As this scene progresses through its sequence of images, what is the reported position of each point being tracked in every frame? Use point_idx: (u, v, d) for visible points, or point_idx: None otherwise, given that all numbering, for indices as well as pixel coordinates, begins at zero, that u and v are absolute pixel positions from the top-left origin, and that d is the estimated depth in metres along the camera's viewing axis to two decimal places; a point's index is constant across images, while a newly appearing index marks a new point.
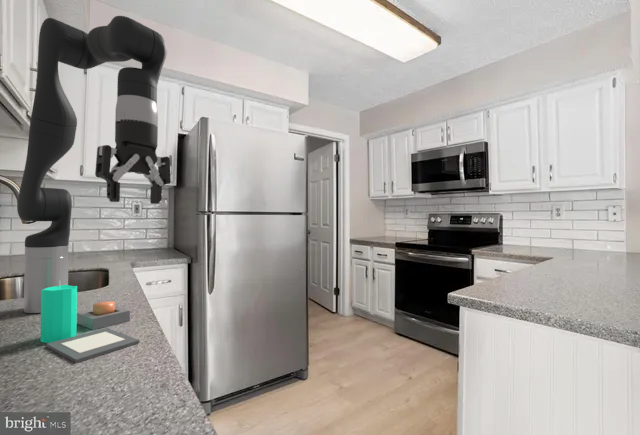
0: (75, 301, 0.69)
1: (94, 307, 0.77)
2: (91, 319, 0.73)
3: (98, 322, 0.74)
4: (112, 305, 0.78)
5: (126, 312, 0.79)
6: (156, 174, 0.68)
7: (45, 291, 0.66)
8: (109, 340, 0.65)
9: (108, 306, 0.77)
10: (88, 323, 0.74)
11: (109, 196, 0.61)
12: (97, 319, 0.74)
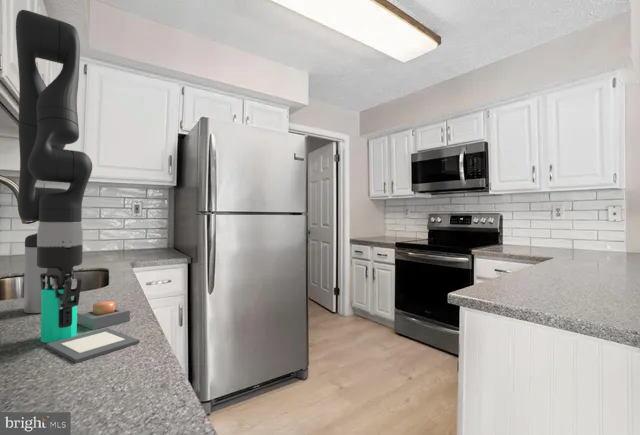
0: None
1: (94, 307, 0.77)
2: (91, 319, 0.73)
3: (98, 322, 0.74)
4: (112, 305, 0.78)
5: (126, 312, 0.79)
6: None
7: (45, 291, 0.66)
8: (109, 340, 0.65)
9: (108, 306, 0.77)
10: (88, 323, 0.74)
11: (67, 322, 0.67)
12: (97, 319, 0.74)
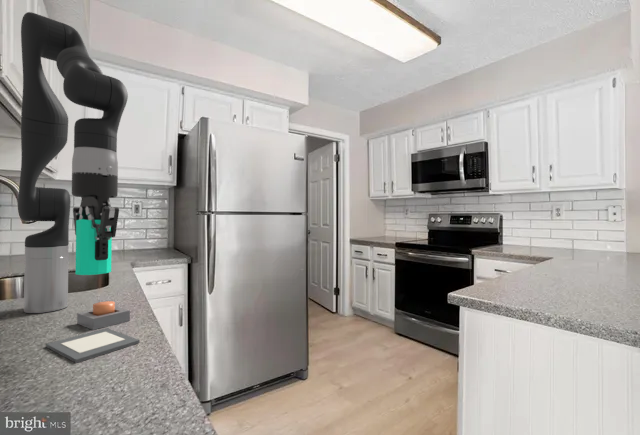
0: None
1: (94, 307, 0.77)
2: (91, 319, 0.73)
3: (98, 322, 0.74)
4: (112, 305, 0.78)
5: (126, 312, 0.79)
6: None
7: (81, 220, 0.62)
8: (109, 340, 0.65)
9: (108, 306, 0.77)
10: (88, 323, 0.74)
11: (103, 255, 0.63)
12: (97, 319, 0.74)
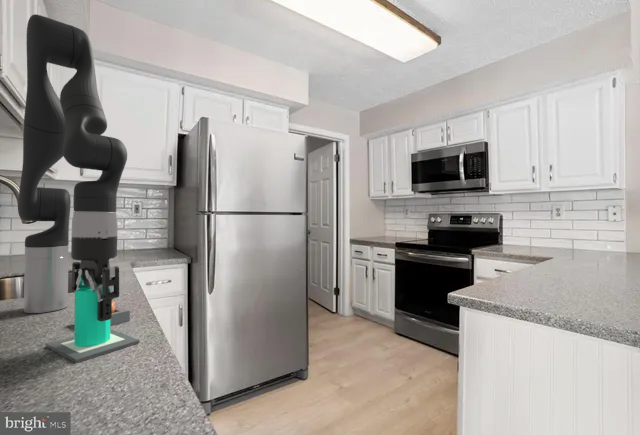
0: None
1: None
2: None
3: None
4: (112, 305, 0.78)
5: (126, 312, 0.79)
6: None
7: (79, 292, 0.62)
8: (109, 340, 0.65)
9: None
10: None
11: (107, 315, 0.62)
12: None
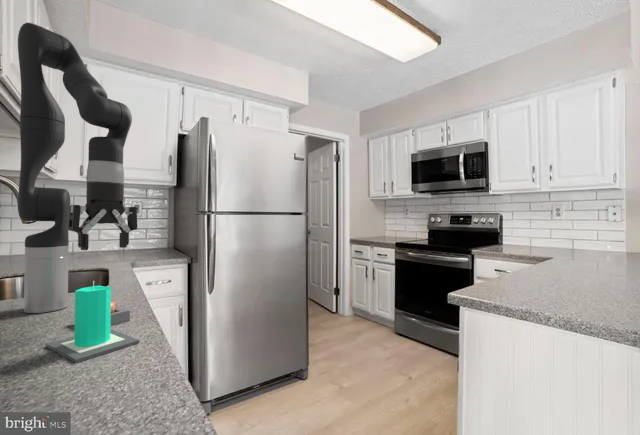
0: (109, 303, 0.65)
1: None
2: None
3: None
4: (112, 305, 0.78)
5: (126, 312, 0.79)
6: None
7: (79, 292, 0.62)
8: (109, 340, 0.65)
9: None
10: None
11: None
12: None
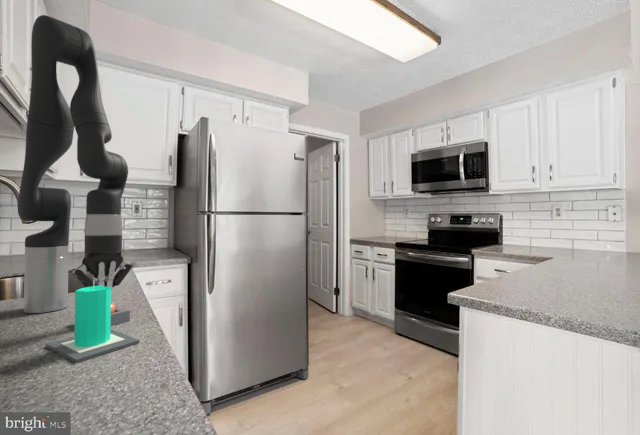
0: (109, 303, 0.65)
1: None
2: None
3: None
4: (112, 306, 0.78)
5: (126, 312, 0.79)
6: None
7: (79, 292, 0.62)
8: (109, 340, 0.65)
9: None
10: None
11: None
12: None
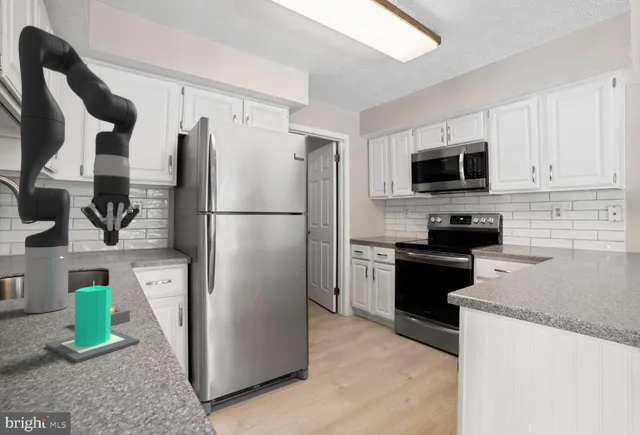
0: (109, 303, 0.65)
1: None
2: None
3: None
4: (112, 310, 0.78)
5: (126, 312, 0.79)
6: None
7: (79, 292, 0.62)
8: (109, 340, 0.65)
9: None
10: None
11: None
12: None
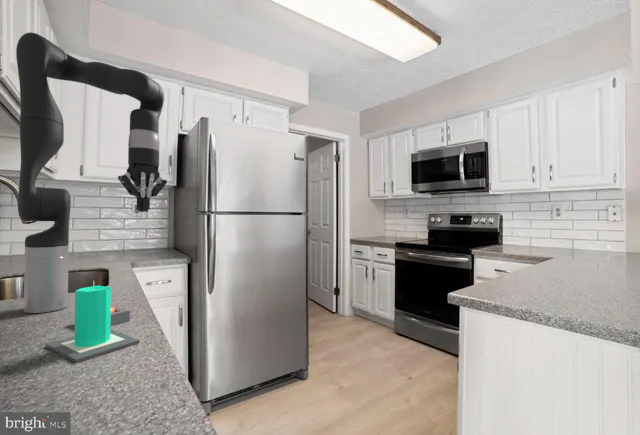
0: (109, 303, 0.65)
1: None
2: None
3: None
4: (112, 310, 0.78)
5: (126, 312, 0.79)
6: None
7: (79, 292, 0.62)
8: (109, 340, 0.65)
9: None
10: None
11: None
12: None
